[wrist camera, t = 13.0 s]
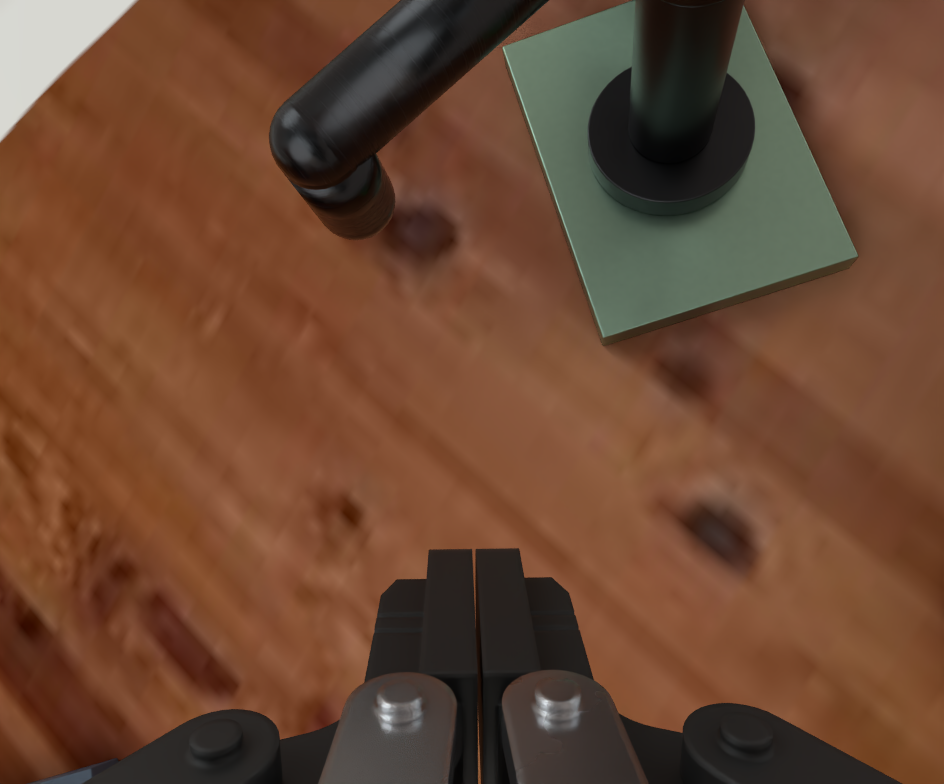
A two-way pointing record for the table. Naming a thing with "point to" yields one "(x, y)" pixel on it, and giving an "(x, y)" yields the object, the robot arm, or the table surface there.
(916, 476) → the table surface
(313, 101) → the spout
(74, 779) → the button box
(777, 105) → the tap base
